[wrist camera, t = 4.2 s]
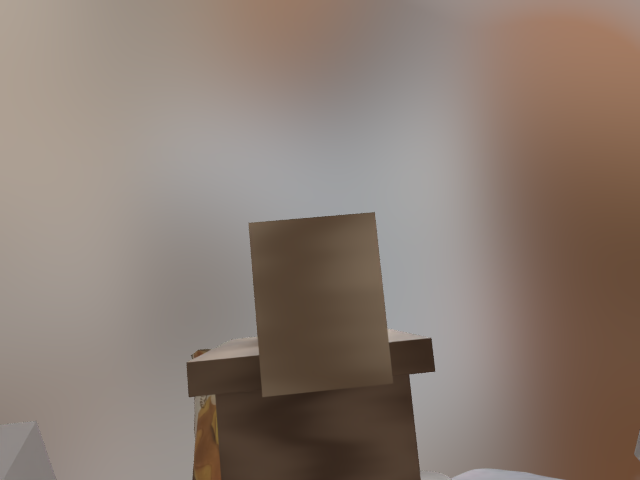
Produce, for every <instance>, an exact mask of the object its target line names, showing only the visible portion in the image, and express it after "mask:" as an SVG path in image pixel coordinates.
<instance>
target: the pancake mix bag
mask: <svg viewBox="0 0 640 480" xmlns="http://www.w3.org/2000/svg"><path fill="white" fill-rule="evenodd" d="M210 350H212V349H204V350H198V351H196V352H195V353H194V354H193V355H191V356H192V359H194V358H196V357H198V356H200V355H202V354H204V353H206V352H208V351H210ZM194 424H195V427H194V431H195V453H194V467H193V480H221V471H220V456H219V442H218V428H217V413H216V399H215V395H205V396H196V397H195V423H194Z"/></svg>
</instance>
